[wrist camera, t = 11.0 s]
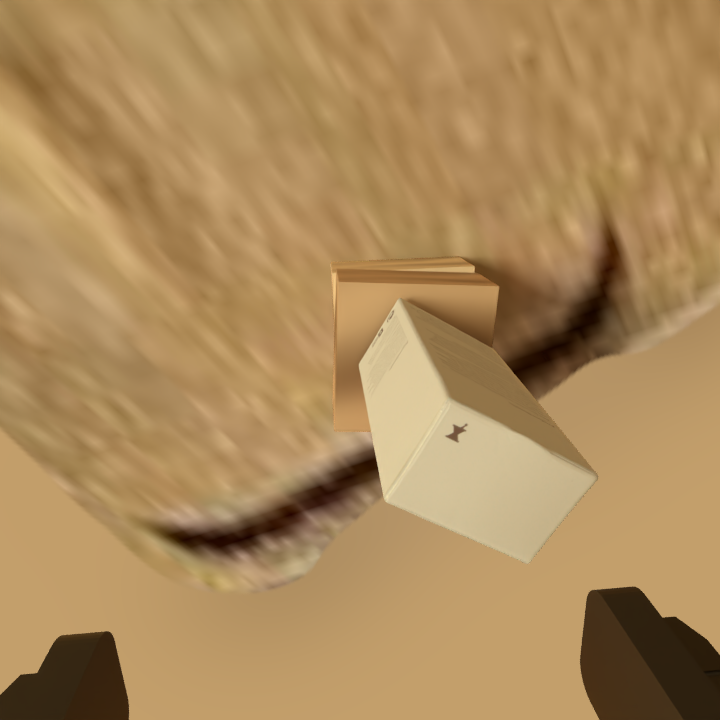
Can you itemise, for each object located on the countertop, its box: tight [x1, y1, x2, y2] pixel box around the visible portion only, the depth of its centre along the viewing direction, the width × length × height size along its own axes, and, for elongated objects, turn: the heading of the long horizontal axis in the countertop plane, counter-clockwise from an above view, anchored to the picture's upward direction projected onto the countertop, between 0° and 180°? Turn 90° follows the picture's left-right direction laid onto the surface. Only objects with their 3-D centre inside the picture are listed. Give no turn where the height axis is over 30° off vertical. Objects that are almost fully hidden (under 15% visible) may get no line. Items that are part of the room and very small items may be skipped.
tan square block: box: [333, 269, 499, 432], centre depth 32 cm, size 8×8×4 cm
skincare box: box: [359, 298, 598, 564], centre depth 24 cm, size 6×4×12 cm
